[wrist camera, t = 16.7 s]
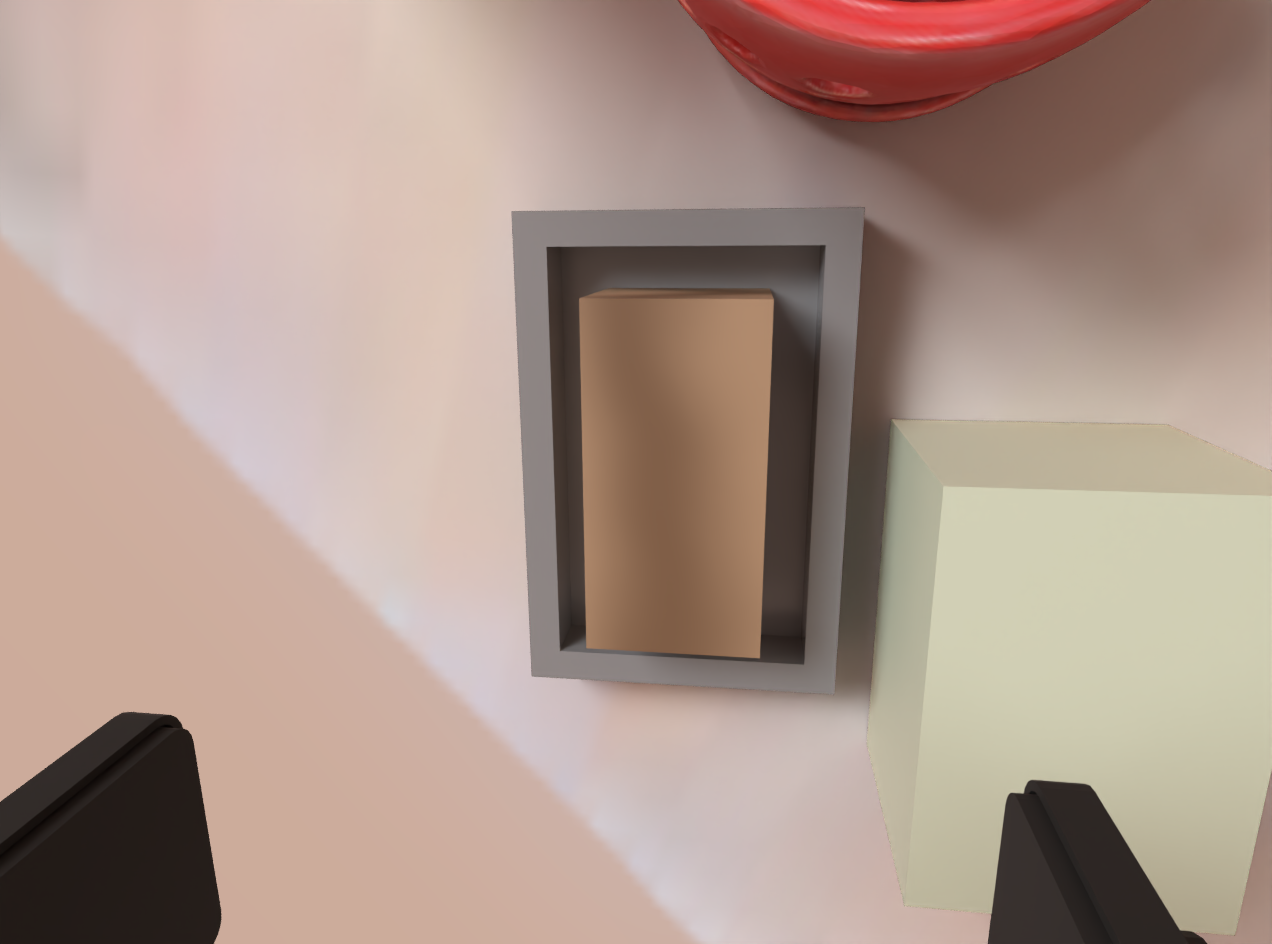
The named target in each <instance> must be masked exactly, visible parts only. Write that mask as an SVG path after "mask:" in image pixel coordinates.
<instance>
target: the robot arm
mask: <svg viewBox="0 0 1272 944" xmlns="http://www.w3.org/2000/svg"><path fill="white" fill-rule="evenodd" d="M220 924H221V907H220V901H219V895H218V889H217V883H216V877H215V871H214V865H213V858H212V853H211V846H210V841H209V834H208V828H207V822H206V816H205V810H204V804H203V798H202V792H201V785H200V779H199V773H198V767H197V762H196V755H195V749H194V743H193V739H192V736H191V734H190V733H189V731H188V730H185V729H183V727H182V724H181V723H180V722H179V720H178V719H177V718H176V717H174V716H172V715H163V714H149V713H136V712H126V713H121V714H119V715H118V716H116V717H114V718H113V719H111V720H110V721H109V722H107V723H106V724H105V725H103V726H102V727H101V728H99V729H98V730H97V731H95V732H94V733H92V734H91V735H90V736H88V737H87V738H86V739H84V740H83V741H82V742H80V743H79V744H78V745H76V746H75V747H74V748H72V749H71V750H70V751H68V752H67V753H65V754H64V755H63V756H62V757H60V758H59V759H57V760H56V761H55V762H53V763H52V764H51V765H49V766H48V767H47V768H45V769H44V770H43V771H41V772H40V773H38V774H37V775H36V776H35V777H33V778H32V779H30V780H29V781H28V782H26V783H25V784H24V785H22V786H21V787H20V788H18V789H17V790H16V791H14V792H13V793H12V794H10V795H9V796H7V797H6V798H5V799H3V800H2V801H1V802H0V944H214V942H215V939H216V937H217V935H218V932H219V928H220ZM988 944H1207V943H1206V942H1205V940H1204V939H1203V938H1202V937H1200V936H1198V935H1197V934H1195V933H1194V932H1192V931H1182V930H1180V929H1179V928H1178V926H1177V925H1176V923H1175V921H1174V920H1173V918H1172V916H1171V915H1170V913H1169V911H1168V910H1167V908H1166V907H1165V905H1164V903H1163V902H1162V900H1161V898H1160V897H1159V895H1158V893H1157V892H1156V890H1155V889H1154V887H1153V885H1152V884H1151V882H1150V880H1149V879H1148V877H1147V876H1146V874H1145V872H1144V871H1143V869H1142V867H1141V866H1140V864H1139V862H1138V861H1137V859H1136V858H1135V856H1134V854H1133V853H1132V851H1131V849H1130V848H1129V846H1128V844H1127V843H1126V841H1125V840H1124V838H1123V836H1122V835H1121V833H1120V831H1119V830H1118V828H1117V827H1116V825H1115V823H1114V822H1113V820H1112V818H1111V817H1110V815H1109V813H1108V812H1107V810H1106V809H1105V807H1104V805H1103V804H1102V802H1101V800H1100V799H1099V797H1098V795H1097V794H1096V792H1095V791H1094V790H1093V789H1092V787H1091V786H1090V785H1087V784H1083V783H1069V782H1056V781H1043V780H1030V781H1028V782H1027V784H1026V786H1025V789H1024V793H1010V794H1009V795H1008V797H1007V800H1006V804H1005V812H1004V820H1003V827H1002V835H1001V843H1000V851H999V859H998V867H997V875H996V883H995V891H994V898H993V906H992V914H991V922H990V930H989V938H988Z"/></svg>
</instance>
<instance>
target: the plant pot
mask: <svg viewBox="0 0 1272 944" xmlns="http://www.w3.org/2000/svg"><path fill="white" fill-rule="evenodd" d="M678 1H679V2H680V4H681V5H682V6H683V8H684V9H685V10H686V11H687V13H688V14H689V15H690V16H691V17H692V18H693V20H694V21H695V22H696V23H697V24H698V25H699V26H700V27H701V28H702V29H703V30H704V31H705V33H706V34H707V36H708V37H709V39H710V40H711V41H712V43H713V44H714V45H715V47H716V48H717V49H718V51H719V52H720V53H721V54H722V55H723V56H724V57H725V58H726V59H727V60H728V62H729V63H730V64H731V65H732V66H733V67H734V68H735V69H736V70H737V71H738V72H739V73H740V74H742V75H743V76H744V77H745V78H747V79H748V80H749V81H750V82H752V83H753V84H754V85H756V86H757V87H758V88H760V89H761V90H763V91H764V92H766V93H767V94H769V95H770V96H772V97H774V98H776V99H778V100H780V101H782V102H784V103H786V104H788V105H790V106H792V107H795V108H797V109H800V110H803V111H806V112H809V113H812V114H815V115H819V116H824V117H828V118H832V119H839V120H847V121H858V122H885V121H895V120H903V119H909V118H914V117H918V116H921V115H925V114H929V113H932V112H935V111H938V110H941V109H944V108H946V107H949V106H951V105H953V104H956V103H958V102H960V101H962V100H964V99H966V98H968V97H970V96H972V95H974V94H976V93H978V92H980V91H981V90H983V89H985V88H987V87H989V86H990V85H991V84H993V83H997V82H1000V81H1003V80H1006V79H1009V78H1011V77H1014V76H1017V75H1019V74H1022V73H1025V72H1027V71H1030V70H1032V69H1034V68H1036V67H1038V66H1041V65H1043V64H1045V63H1047V62H1049V61H1051V60H1053V59H1055V58H1057V57H1059V56H1061V55H1063V54H1065V53H1067V52H1068V51H1070V50H1072V49H1074V48H1076V47H1078V46H1080V45H1082V44H1084V43H1086V42H1087V41H1089V40H1091V39H1093V38H1094V37H1096V36H1098V35H1100V34H1101V33H1103V32H1104V31H1106V30H1107V29H1109V28H1110V27H1112V26H1114V25H1115V24H1117V23H1118V22H1120V21H1121V20H1123V19H1124V18H1126V17H1127V16H1129V15H1130V14H1132V13H1133V12H1135V11H1136V10H1138V9H1140V8H1141V7H1142V6H1144V5H1145V4H1147V3H1148V2H1149V1H1151V0H678Z"/></svg>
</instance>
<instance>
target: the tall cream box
mask: <svg viewBox="0 0 1272 944" xmlns="http://www.w3.org/2000/svg"><path fill="white" fill-rule="evenodd" d="M867 747H868V752H869V756H870V760H871V765H872V769H873V773H874V777H875V782H876V786H877V790H878V795H879V799H880V803H881V808H882V812H883V816H884V821H885V825H886V829H887V834H888V838H889V842H890V847H891V851H892V855H893V860H894V864H895V868H896V873H897V877H898V881H899V886H900V890H901V894H902V898H903V903H904V906H910V907H921V908H932V909H943V910H954V911H965V912H976V913H988V914H992V906H993V898H994V891H995V883H996V875H997V867H998V859H999V851H1000V843H1001V835H1002V827H1003V820H1004V812H1005V804H1006V800H1007V797H1008V795H1009V794H1010V793H1024V789H1025V786H1026V784H1027V782H1028V781H1030V780H1043V781H1056V782H1069V783H1083V784H1087V785H1090V786H1091V787H1092V789H1093V790H1094V791H1095V792H1096V794H1097V795H1098V797H1099V799H1100V800H1101V802H1102V804H1103V805H1104V807H1105V809H1106V810H1107V812H1108V813H1109V815H1110V817H1111V818H1112V820H1113V822H1114V823H1115V825H1116V827H1117V828H1118V830H1119V831H1120V833H1121V835H1122V836H1123V838H1124V840H1125V841H1126V843H1127V844H1128V846H1129V848H1130V849H1131V851H1132V853H1133V854H1134V856H1135V858H1136V859H1137V861H1138V862H1139V864H1140V866H1141V867H1142V869H1143V871H1144V872H1145V874H1146V876H1147V877H1148V879H1149V880H1150V882H1151V884H1152V885H1153V887H1154V889H1155V890H1156V892H1157V893H1158V895H1159V897H1160V898H1161V900H1162V902H1163V903H1164V905H1165V907H1166V908H1167V910H1168V911H1169V913H1170V915H1171V916H1172V918H1173V920H1174V921H1175V923H1176V925H1177V926H1178V928H1179V929H1180V930H1182V931H1192V932H1199V933H1210V934H1221V935H1232V936H1235V934H1236V929H1237V925H1238V920H1239V916H1240V911H1241V907H1242V902H1243V898H1244V893H1245V889H1246V884H1247V879H1248V875H1249V870H1250V866H1251V861H1252V857H1253V852H1254V848H1255V843H1256V839H1257V834H1258V830H1259V825H1260V821H1261V816H1262V812H1263V807H1264V803H1265V798H1266V794H1267V789H1268V785H1269V780H1270V776H1271V771H1272V471H1271V470H1269V469H1266V468H1264V467H1262V466H1260V465H1257V464H1255V463H1253V462H1251V461H1248V460H1246V459H1244V458H1242V457H1239V456H1237V455H1235V454H1233V453H1230V452H1228V451H1226V450H1224V449H1221V448H1219V447H1217V446H1215V445H1212V444H1210V443H1208V442H1206V441H1203V440H1201V439H1199V438H1197V437H1194V436H1192V435H1190V434H1188V433H1185V432H1183V431H1181V430H1179V429H1176V428H1174V427H1172V426H1170V425H1157V424H1106V423H1055V422H1004V421H953V420H902V419H891V427H890V440H889V453H888V467H887V480H886V493H885V507H884V520H883V533H882V547H881V560H880V573H879V587H878V600H877V613H876V627H875V640H874V653H873V667H872V680H871V693H870V707H869V720H868V733H867Z"/></svg>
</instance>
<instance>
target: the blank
mask: <svg viewBox="0 0 1272 944" xmlns="http://www.w3.org/2000/svg"><path fill="white" fill-rule="evenodd" d="M773 309H774V298H773V296H772V293H771V291H770V288H608V289H605V290H602V291H599V292H596V293H593V294H590V295H587V296H585V297H582V298H579V318H580V366H581V414H582V461H583V509H584V557H585V605H586V648H590V649H608V650H625V651H642V652H660V653H677V654H694V655H711V656H729V657H746V658H760V642H761V616H762V591H763V565H764V540H765V514H766V488H767V463H768V437H769V412H770V386H771V360H772V335H773Z"/></svg>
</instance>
